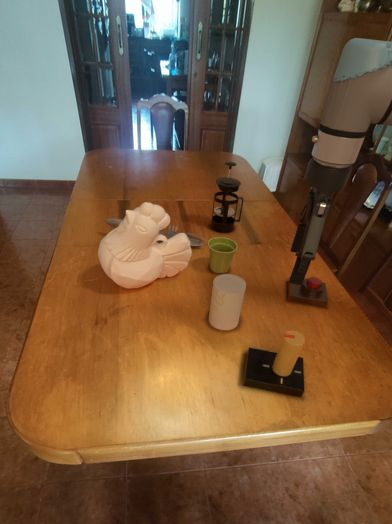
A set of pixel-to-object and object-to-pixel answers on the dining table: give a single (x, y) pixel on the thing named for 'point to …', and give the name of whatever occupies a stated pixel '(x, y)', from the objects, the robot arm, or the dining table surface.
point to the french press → (226, 204)
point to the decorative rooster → (143, 248)
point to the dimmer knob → (288, 353)
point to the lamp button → (314, 282)
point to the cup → (226, 301)
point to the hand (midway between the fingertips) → (295, 266)
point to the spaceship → (192, 238)
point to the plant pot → (221, 253)
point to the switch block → (308, 294)
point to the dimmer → (272, 374)
